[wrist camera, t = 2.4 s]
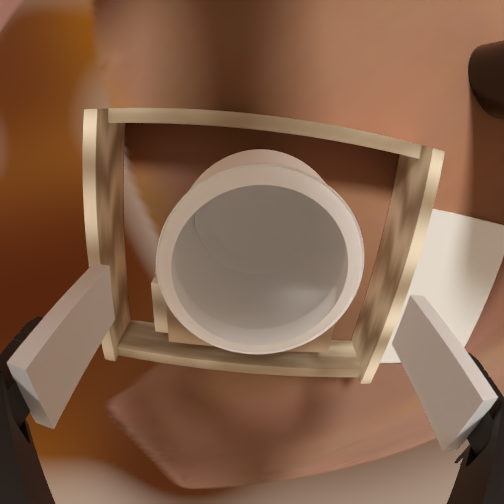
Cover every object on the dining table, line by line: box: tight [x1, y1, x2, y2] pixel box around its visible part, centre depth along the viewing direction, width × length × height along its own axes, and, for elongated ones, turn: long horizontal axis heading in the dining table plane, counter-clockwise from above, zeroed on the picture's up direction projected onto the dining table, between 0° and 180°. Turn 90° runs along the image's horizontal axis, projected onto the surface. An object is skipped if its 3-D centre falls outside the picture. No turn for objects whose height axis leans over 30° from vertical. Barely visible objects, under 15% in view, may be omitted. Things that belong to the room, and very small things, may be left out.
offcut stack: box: [151, 268, 336, 352], centre depth 31 cm, size 6×18×6 cm, turn 85°
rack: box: [83, 108, 445, 384], centre depth 28 cm, size 24×28×6 cm
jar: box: [156, 149, 364, 354], centre depth 22 cm, size 11×10×15 cm
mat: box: [380, 209, 504, 363], centre depth 33 cm, size 20×16×1 cm
